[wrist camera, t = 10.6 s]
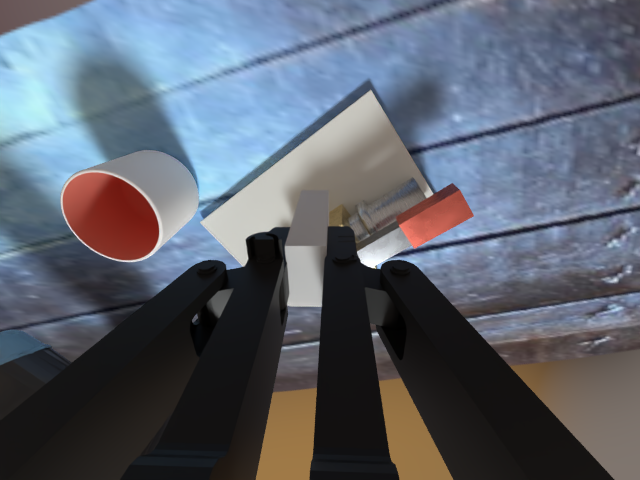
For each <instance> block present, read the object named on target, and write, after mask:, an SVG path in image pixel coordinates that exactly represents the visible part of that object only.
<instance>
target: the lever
mask: <svg viewBox="0 0 640 480" xmlns="http://www.w3.org/2000/svg"><path fill="white" fill-rule="evenodd" d="M473 216H474V215H473V213H472V211H471V209H470V208H469V206H468V204H467V202H466V200H465V199H464V197H463V195H462V193H461V191H460V190H459V189H458V188H457V187H456V186H455V185H454V184H453V183H452V184H450V185H448V186H447V187H445V188H443V189H442V190H440V191H438V192H437V193H435V194H433V195H432V196H430V197H428V198H426V199H425V200H423V201H421V202H420V203H418V204H416V205H415V206H413V207H411V208H410V209H408V210H406V211H405V212H403V213H401V214H399V215H398V216H396V221H395V222H393V223H391V224H390V225H388V226H386V227H384V228H383V229H381V230H379V231H378V232H376V233H374V234H373V235H371V236H369V237H367V238H366V239H364V240H362V241H361V242H359V243H357V244H356V249H357V255H358V256H359V258H360V260H361V263H362V264H364V265H366V266H368V267H374V266H375V265H377V264H379V263H381V262H383V261H385V260H386V259H388V258H390V257H392V256H394V255H395V254H397V253H399V252H401V251H403V250H405V249H406V248H408V247H410V246H413V247H414V248H416V247H418V246H420V245H422V244H423V243H425V242H427V241H429V240H431V239H433V238H434V237H436V236H438V235H440V234H442V233H444V232H446V231H447V230H449V229H451V228H453V227H455V226H457V225H458V224H460V223H462V222H464V221H466V220H468V219H469V218H471V217H473Z"/></svg>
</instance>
